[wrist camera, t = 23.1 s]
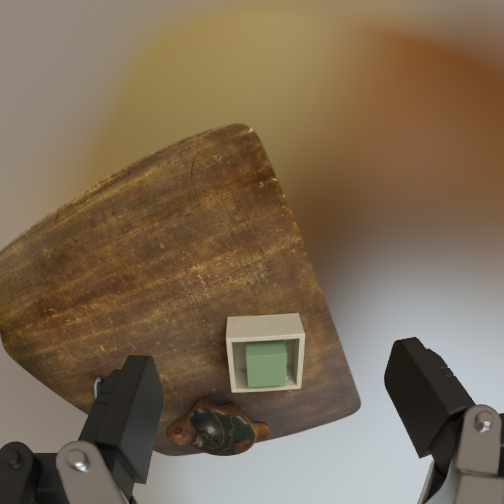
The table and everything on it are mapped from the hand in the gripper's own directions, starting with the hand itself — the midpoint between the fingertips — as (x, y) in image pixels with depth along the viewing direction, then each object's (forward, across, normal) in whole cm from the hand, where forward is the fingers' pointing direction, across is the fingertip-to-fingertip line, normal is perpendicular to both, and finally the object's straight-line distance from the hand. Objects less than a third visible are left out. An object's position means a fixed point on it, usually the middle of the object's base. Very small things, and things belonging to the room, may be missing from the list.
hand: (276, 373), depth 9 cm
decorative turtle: (+24, +6, +31) cm, 40 cm away
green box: (+24, -1, +18) cm, 29 cm away
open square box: (+24, -1, +18) cm, 30 cm away
